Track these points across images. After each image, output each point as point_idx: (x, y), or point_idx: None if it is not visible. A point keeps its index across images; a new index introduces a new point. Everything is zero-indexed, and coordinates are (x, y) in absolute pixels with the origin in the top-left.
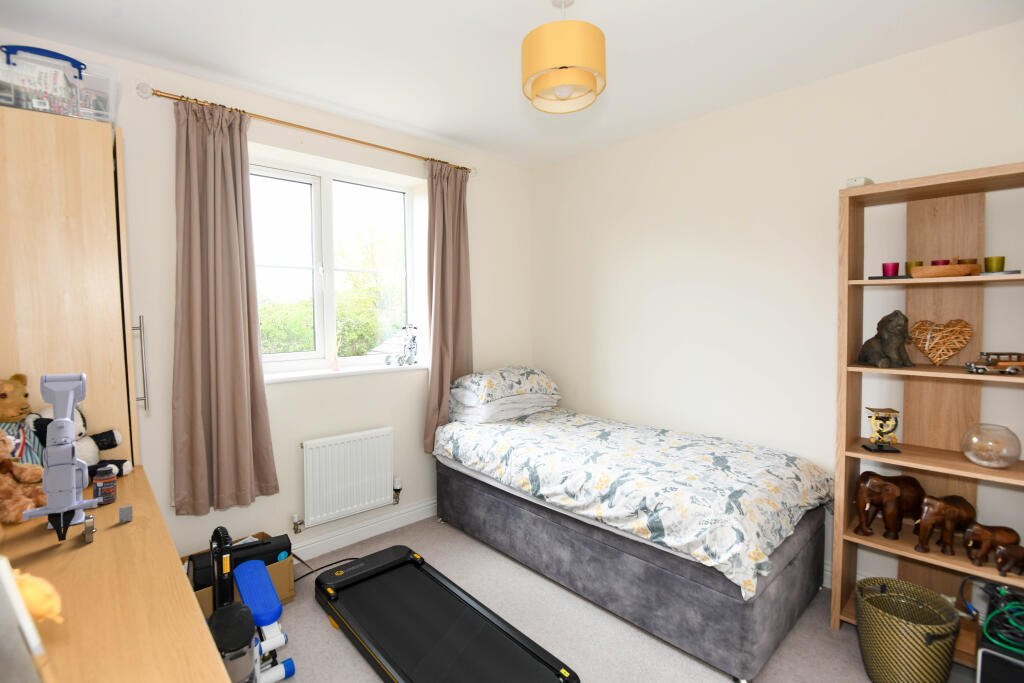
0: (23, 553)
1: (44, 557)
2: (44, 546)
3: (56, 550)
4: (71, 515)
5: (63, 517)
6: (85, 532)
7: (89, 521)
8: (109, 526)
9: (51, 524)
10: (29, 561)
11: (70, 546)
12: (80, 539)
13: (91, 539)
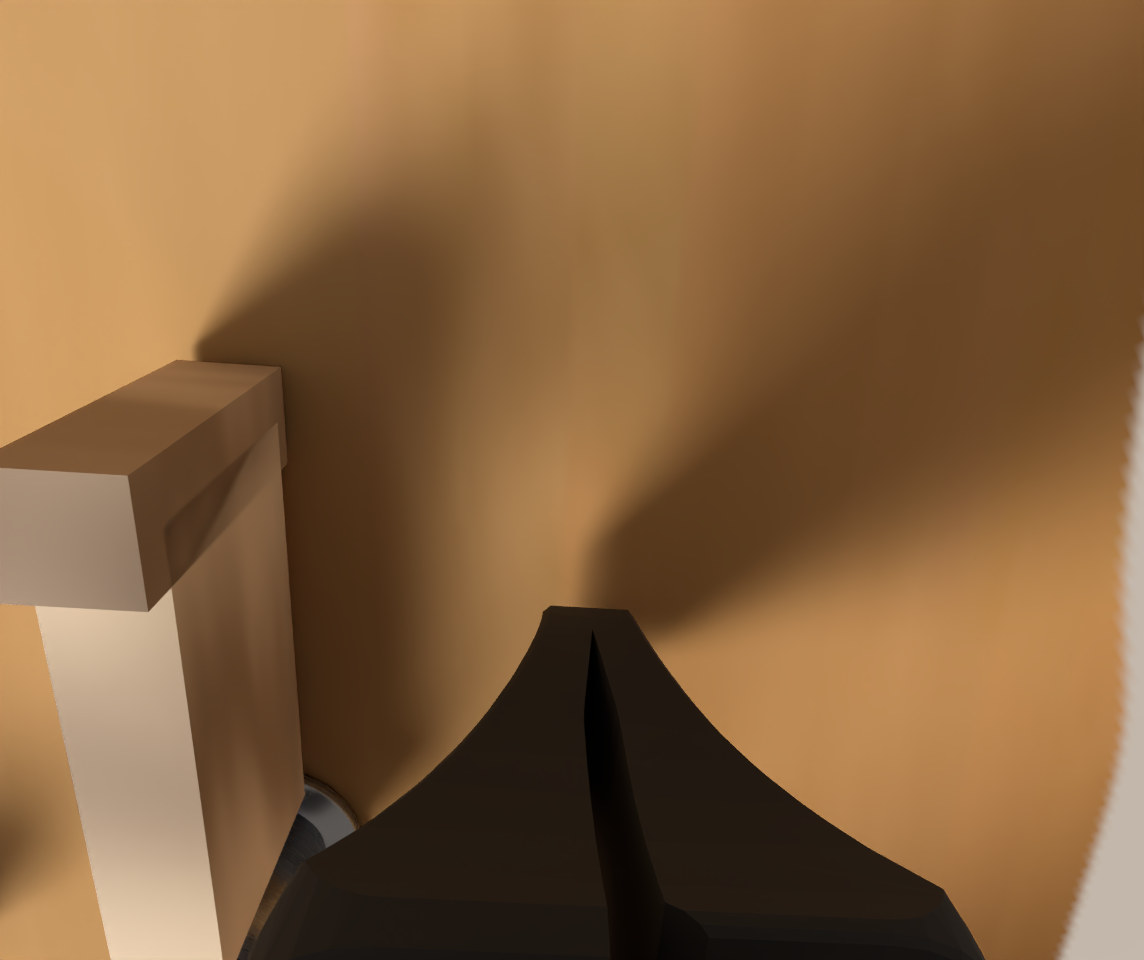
0: (1020, 581)
1: (853, 145)
2: (777, 668)
3: (671, 371)
4: (327, 913)
5: (574, 908)
6: (314, 814)
7: (147, 875)
8: (56, 867)
9: (836, 829)
10: (1055, 122)
11: (491, 407)
12: (369, 621)
13: (183, 373)
